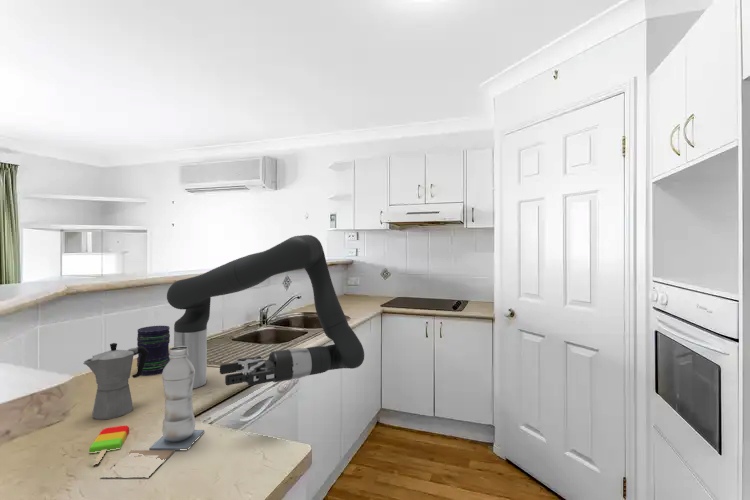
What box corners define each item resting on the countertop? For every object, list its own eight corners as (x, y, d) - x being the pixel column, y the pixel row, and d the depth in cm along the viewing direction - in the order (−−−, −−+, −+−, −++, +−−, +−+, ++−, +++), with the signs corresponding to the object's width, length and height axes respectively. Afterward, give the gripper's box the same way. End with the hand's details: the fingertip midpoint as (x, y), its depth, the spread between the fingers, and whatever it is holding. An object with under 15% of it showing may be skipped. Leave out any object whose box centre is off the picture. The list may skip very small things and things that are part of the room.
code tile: (131, 452, 79) (131, 450, 79) (174, 452, 79) (174, 450, 79) (100, 478, 70) (100, 476, 70) (148, 478, 70) (148, 476, 70)
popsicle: (130, 432, 88) (130, 424, 88) (112, 466, 74) (112, 456, 74) (102, 436, 86) (102, 427, 86) (78, 471, 72) (78, 462, 72)
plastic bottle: (182, 447, 79) (182, 353, 79) (154, 444, 81) (154, 351, 81) (201, 432, 86) (202, 345, 86) (175, 430, 87) (176, 344, 87)
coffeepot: (93, 426, 90) (93, 351, 90) (74, 417, 95) (74, 346, 95) (157, 403, 103) (157, 338, 103) (138, 397, 108) (138, 334, 108)
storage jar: (175, 367, 135) (176, 325, 135) (157, 376, 125) (157, 331, 125) (150, 366, 136) (150, 325, 136) (129, 375, 126) (130, 331, 126)
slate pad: (169, 432, 87) (169, 429, 87) (204, 432, 87) (204, 429, 87) (149, 450, 79) (149, 448, 79) (187, 450, 79) (187, 448, 79)
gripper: (282, 343, 102) (218, 351, 94) (299, 356, 90) (227, 366, 82) (282, 371, 102) (218, 381, 94) (299, 387, 90) (227, 401, 82)
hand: (222, 374), depth 88 cm, fingers open, 8 cm apart
